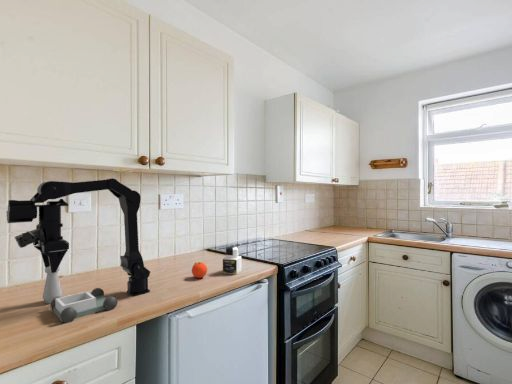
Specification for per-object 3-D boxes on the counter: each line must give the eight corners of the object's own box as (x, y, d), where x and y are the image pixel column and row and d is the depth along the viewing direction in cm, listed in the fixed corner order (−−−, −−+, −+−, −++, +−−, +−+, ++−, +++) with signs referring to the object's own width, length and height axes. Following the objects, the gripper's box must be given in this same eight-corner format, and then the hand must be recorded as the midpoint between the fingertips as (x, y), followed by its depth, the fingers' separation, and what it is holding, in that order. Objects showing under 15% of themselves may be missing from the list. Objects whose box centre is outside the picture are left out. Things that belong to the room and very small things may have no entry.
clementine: (187, 277, 129) (187, 261, 129) (200, 274, 134) (200, 259, 134) (197, 281, 124) (197, 264, 124) (210, 277, 129) (210, 261, 129)
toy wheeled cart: (102, 297, 105) (102, 285, 105) (117, 307, 96) (117, 294, 96) (50, 310, 94) (50, 297, 94) (61, 324, 84) (61, 309, 84)
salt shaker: (66, 298, 105) (65, 263, 105) (55, 304, 99) (55, 267, 99) (49, 298, 105) (49, 263, 105) (38, 304, 99) (38, 267, 99)
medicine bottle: (222, 273, 135) (222, 248, 135) (228, 269, 142) (228, 245, 142) (236, 274, 133) (236, 249, 133) (241, 270, 140) (241, 246, 139)
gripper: (12, 220, 91) (13, 269, 91) (22, 225, 78) (22, 282, 78) (54, 218, 99) (54, 263, 99) (69, 221, 86) (69, 273, 86)
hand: (50, 269), depth 90 cm, fingers open, 9 cm apart
